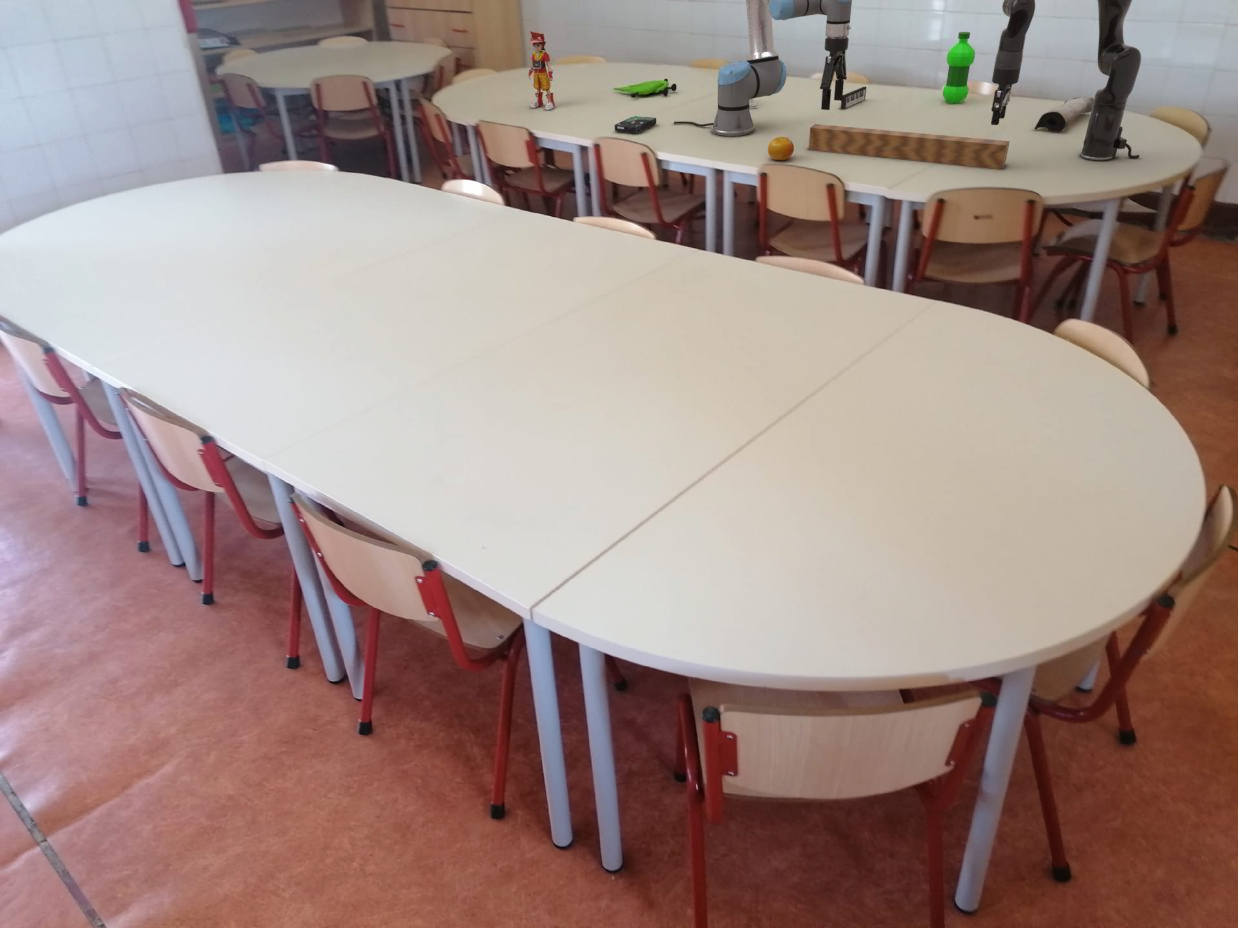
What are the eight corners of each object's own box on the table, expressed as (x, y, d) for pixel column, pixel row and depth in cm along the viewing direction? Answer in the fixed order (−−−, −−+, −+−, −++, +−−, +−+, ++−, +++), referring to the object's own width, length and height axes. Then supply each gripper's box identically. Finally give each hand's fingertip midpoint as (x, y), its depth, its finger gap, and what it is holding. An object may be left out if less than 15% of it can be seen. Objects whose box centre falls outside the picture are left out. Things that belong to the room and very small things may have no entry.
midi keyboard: (843, 109, 354) (844, 96, 351) (840, 109, 355) (841, 95, 352) (865, 100, 365) (866, 87, 362) (862, 99, 365) (863, 86, 362)
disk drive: (637, 135, 339) (656, 124, 349) (637, 127, 338) (656, 117, 348) (614, 132, 344) (634, 122, 354) (613, 125, 343) (633, 115, 353)
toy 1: (525, 109, 381) (517, 32, 364) (534, 104, 388) (527, 28, 371) (550, 110, 377) (543, 32, 360) (559, 105, 384) (553, 28, 367)
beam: (808, 149, 312) (809, 127, 308) (813, 146, 316) (815, 124, 312) (1001, 169, 284) (1006, 145, 280) (1005, 165, 287) (1009, 141, 283)
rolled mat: (1062, 101, 334) (1086, 84, 326) (1075, 122, 335) (1100, 105, 327) (1030, 123, 317) (1055, 105, 309) (1044, 145, 318) (1070, 128, 309)
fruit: (761, 151, 301) (775, 129, 298) (766, 153, 309) (779, 132, 306) (781, 165, 300) (795, 143, 297) (786, 167, 307) (800, 146, 304)
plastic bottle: (973, 101, 354) (984, 32, 339) (955, 106, 349) (966, 36, 335) (952, 97, 361) (962, 29, 346) (934, 102, 356) (944, 33, 342)
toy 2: (686, 85, 398) (631, 84, 414) (685, 72, 395) (629, 72, 411) (651, 104, 381) (596, 103, 397) (650, 92, 378) (594, 91, 394)
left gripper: (836, 44, 283) (830, 114, 295) (859, 30, 301) (853, 97, 313) (813, 43, 286) (808, 113, 298) (837, 30, 304) (832, 96, 316)
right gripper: (1016, 71, 264) (1005, 128, 273) (1025, 62, 274) (1014, 117, 283) (989, 70, 267) (979, 126, 276) (999, 60, 277) (990, 115, 286)
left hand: (831, 105), depth 306 cm, fingers open, 13 cm apart
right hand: (997, 121), depth 280 cm, fingers open, 8 cm apart
